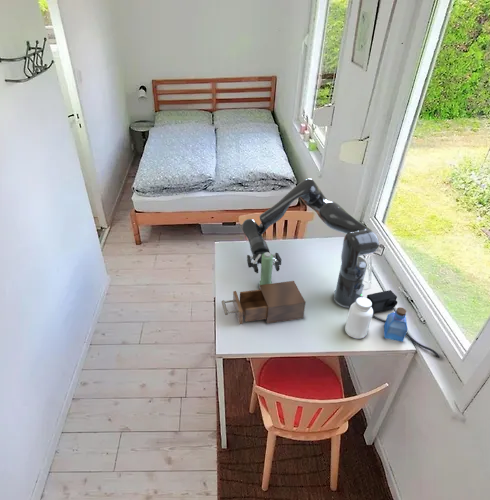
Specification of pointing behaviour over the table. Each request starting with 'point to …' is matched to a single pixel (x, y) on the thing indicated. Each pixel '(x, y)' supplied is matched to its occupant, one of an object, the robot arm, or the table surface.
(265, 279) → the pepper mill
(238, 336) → the table surface
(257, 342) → the table surface
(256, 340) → the table surface
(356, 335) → the pill bottle
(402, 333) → the perfume bottle
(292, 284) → the cabinet
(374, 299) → the digital camera
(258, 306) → the drawer
